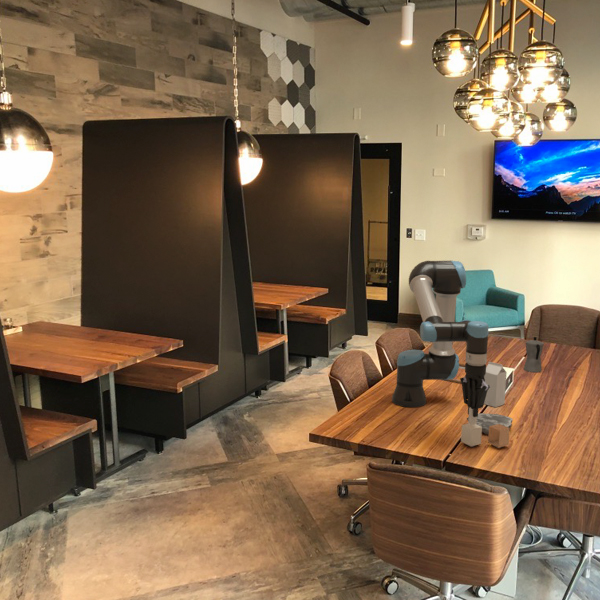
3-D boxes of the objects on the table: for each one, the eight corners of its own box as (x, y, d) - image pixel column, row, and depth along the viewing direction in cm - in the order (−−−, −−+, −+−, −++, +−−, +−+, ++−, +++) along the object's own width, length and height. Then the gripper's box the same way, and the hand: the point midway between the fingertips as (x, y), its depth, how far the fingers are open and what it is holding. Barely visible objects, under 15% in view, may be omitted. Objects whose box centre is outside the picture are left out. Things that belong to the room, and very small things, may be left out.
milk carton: (495, 407, 293) (497, 366, 289) (481, 403, 298) (484, 362, 295) (504, 404, 297) (507, 363, 294) (491, 400, 303) (493, 360, 299)
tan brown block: (488, 445, 251) (489, 426, 250) (497, 442, 254) (498, 423, 253) (498, 450, 247) (499, 430, 246) (508, 447, 250) (509, 428, 248)
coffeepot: (520, 366, 358) (522, 333, 355) (538, 366, 358) (541, 334, 354) (527, 374, 343) (530, 340, 340) (546, 375, 343) (549, 341, 339)
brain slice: (479, 416, 283) (479, 409, 282) (518, 426, 272) (518, 419, 272) (458, 429, 268) (458, 422, 267) (498, 440, 257) (499, 432, 257)
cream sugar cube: (460, 441, 252) (461, 425, 251) (470, 439, 255) (471, 422, 254) (471, 446, 248) (471, 429, 247) (481, 443, 250) (482, 426, 249)
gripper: (455, 360, 249) (452, 420, 253) (481, 369, 238) (478, 431, 242) (470, 357, 253) (466, 416, 257) (496, 366, 242) (492, 427, 246)
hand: (472, 423), depth 250 cm, fingers closed
